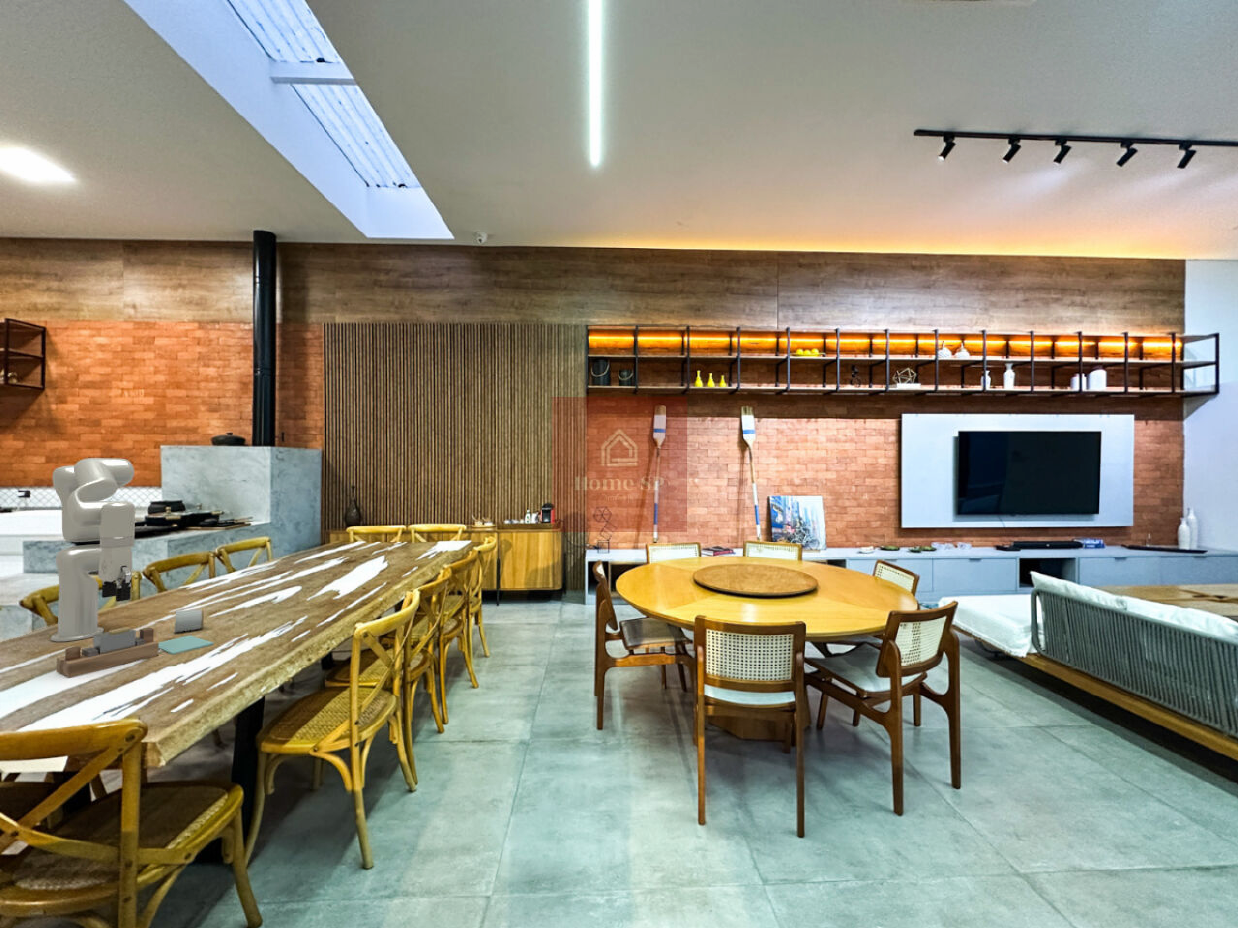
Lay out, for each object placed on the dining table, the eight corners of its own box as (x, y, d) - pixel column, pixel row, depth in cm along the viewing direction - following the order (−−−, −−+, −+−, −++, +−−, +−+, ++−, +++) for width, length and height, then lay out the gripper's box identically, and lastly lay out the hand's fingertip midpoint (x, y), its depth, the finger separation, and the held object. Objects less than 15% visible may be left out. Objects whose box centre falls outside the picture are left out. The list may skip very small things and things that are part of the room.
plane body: (56, 671, 147) (57, 644, 147) (145, 650, 165) (145, 625, 165) (68, 677, 143) (69, 649, 143) (158, 655, 161) (158, 630, 161)
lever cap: (93, 651, 152) (93, 632, 152) (128, 643, 160) (128, 625, 160) (99, 654, 150) (100, 635, 150) (135, 646, 157) (135, 627, 157)
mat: (150, 646, 169) (150, 644, 169) (190, 636, 178) (190, 635, 178) (173, 654, 161) (173, 652, 161) (213, 644, 171) (213, 642, 171)
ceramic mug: (204, 630, 185) (204, 609, 186) (174, 635, 180) (174, 613, 180) (202, 624, 193) (203, 604, 194) (174, 628, 188) (175, 607, 188)
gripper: (88, 542, 156) (87, 597, 156) (113, 546, 148) (111, 605, 148) (121, 539, 162) (120, 592, 162) (146, 543, 155) (144, 599, 154)
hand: (116, 598), depth 155 cm, fingers open, 9 cm apart
